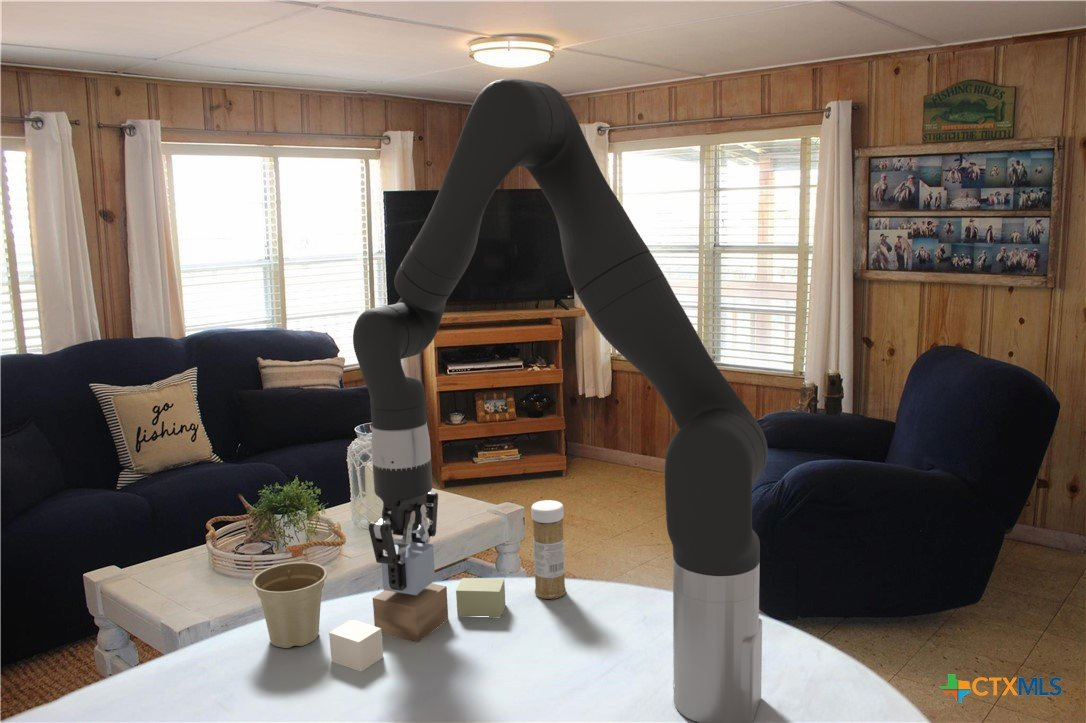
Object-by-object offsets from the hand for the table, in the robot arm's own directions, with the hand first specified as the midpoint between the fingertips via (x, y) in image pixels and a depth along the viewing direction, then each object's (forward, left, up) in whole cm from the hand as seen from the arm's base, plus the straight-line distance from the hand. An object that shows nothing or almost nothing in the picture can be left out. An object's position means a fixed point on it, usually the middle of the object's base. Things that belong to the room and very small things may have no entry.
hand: (409, 579), depth 120 cm
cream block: (+2, +10, -7) cm, 12 cm away
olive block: (-7, -7, -7) cm, 12 cm away
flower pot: (+13, +8, -7) cm, 17 cm away
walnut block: (0, 0, -7) cm, 7 cm away
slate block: (0, 0, -1) cm, 1 cm away
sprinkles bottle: (-14, -15, -7) cm, 22 cm away
